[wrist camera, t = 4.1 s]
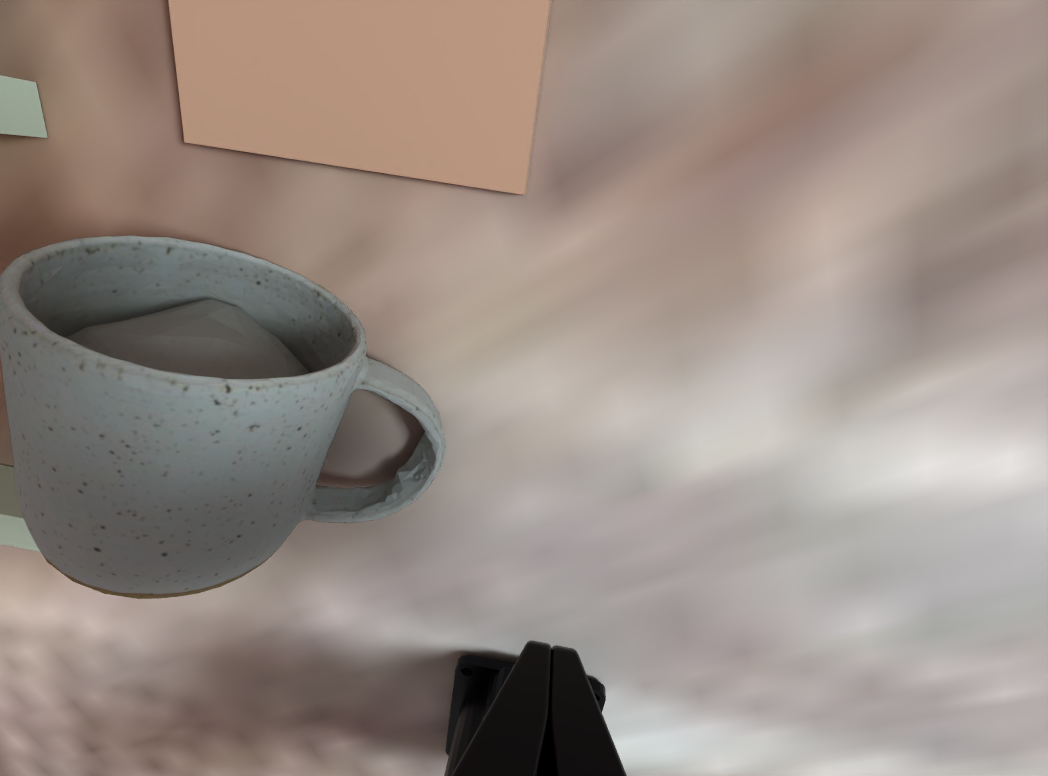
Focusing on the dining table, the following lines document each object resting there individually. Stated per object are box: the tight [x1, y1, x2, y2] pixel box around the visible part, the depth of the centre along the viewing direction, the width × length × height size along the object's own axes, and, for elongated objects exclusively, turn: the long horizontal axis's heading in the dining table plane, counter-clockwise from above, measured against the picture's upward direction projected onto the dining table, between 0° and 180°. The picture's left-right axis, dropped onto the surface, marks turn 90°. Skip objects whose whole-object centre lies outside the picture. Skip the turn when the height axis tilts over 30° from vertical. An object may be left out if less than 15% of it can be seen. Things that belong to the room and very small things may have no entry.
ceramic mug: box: [0, 235, 445, 599], centre depth 14 cm, size 11×8×8 cm
